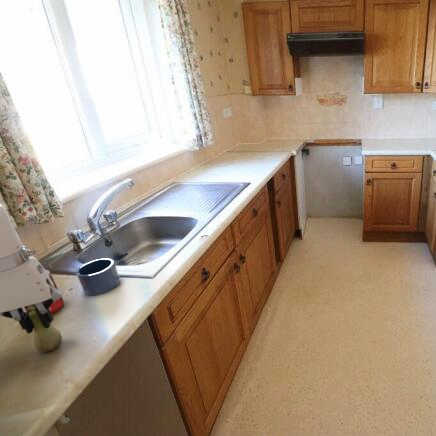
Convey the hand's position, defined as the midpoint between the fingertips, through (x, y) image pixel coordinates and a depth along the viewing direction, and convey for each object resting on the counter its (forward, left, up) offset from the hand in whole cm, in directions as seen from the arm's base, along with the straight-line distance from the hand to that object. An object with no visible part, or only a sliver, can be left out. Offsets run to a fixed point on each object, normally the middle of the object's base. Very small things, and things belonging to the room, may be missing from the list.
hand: (40, 326), depth 76 cm
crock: (+9, +23, -7) cm, 26 cm away
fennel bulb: (0, 0, -7) cm, 7 cm away
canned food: (-4, +18, -7) cm, 20 cm away
